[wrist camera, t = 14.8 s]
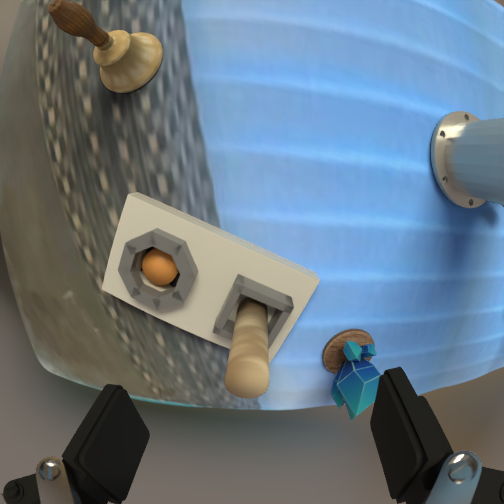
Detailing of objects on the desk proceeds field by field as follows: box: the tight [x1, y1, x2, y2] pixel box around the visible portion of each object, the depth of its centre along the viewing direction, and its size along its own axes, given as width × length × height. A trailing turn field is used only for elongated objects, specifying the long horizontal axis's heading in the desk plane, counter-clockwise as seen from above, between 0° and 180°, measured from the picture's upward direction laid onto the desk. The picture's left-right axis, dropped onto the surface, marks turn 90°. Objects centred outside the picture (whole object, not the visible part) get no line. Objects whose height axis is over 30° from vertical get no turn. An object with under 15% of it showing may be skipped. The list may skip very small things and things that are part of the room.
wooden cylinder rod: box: [225, 297, 269, 398], centre depth 25 cm, size 3×3×12 cm
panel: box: [102, 192, 320, 363], centre depth 30 cm, size 22×12×5 cm, turn 65°
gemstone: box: [323, 329, 381, 420], centre depth 29 cm, size 7×9×12 cm
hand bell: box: [48, 0, 163, 93], centre depth 18 cm, size 8×8×16 cm
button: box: [142, 248, 179, 285], centre depth 30 cm, size 4×4×2 cm
